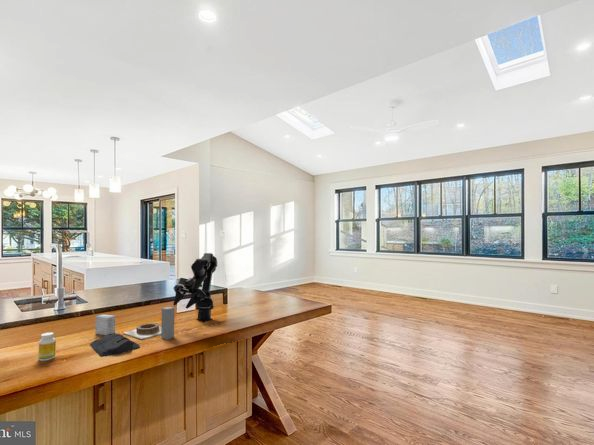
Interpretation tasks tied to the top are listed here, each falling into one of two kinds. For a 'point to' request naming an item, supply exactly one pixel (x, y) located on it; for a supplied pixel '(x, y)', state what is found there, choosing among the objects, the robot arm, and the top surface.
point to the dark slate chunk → (113, 345)
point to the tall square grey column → (167, 323)
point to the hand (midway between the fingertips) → (180, 306)
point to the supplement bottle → (47, 347)
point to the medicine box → (105, 324)
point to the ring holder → (145, 331)
